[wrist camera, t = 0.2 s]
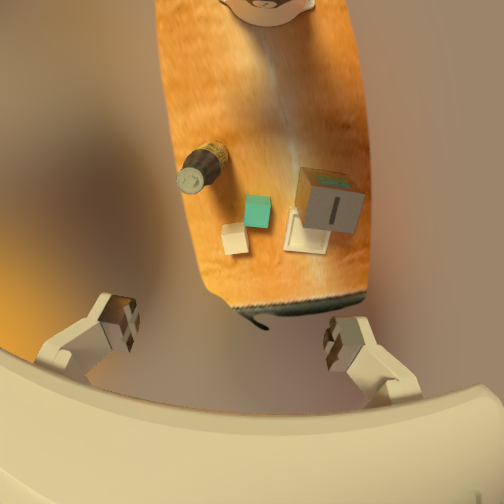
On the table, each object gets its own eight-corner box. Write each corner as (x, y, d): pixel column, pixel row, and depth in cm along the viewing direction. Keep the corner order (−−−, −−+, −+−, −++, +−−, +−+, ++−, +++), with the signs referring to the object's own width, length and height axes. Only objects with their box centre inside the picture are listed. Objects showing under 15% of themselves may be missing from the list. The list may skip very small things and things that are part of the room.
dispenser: (300, 165, 54) (311, 184, 43) (345, 173, 54) (366, 193, 44) (294, 202, 58) (303, 228, 48) (337, 207, 58) (354, 234, 48)
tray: (289, 205, 59) (290, 210, 57) (332, 211, 59) (335, 215, 57) (282, 244, 64) (283, 250, 62) (323, 248, 64) (325, 254, 62)
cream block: (223, 224, 61) (220, 235, 57) (245, 221, 61) (244, 232, 57) (227, 243, 64) (225, 255, 60) (248, 240, 64) (248, 252, 59)
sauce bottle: (235, 158, 53) (224, 190, 36) (210, 173, 55) (189, 213, 38) (217, 132, 50) (196, 152, 33) (192, 149, 52) (161, 178, 35)
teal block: (246, 194, 57) (245, 203, 53) (269, 196, 58) (270, 205, 53) (244, 215, 60) (243, 225, 56) (266, 217, 60) (267, 228, 56)
